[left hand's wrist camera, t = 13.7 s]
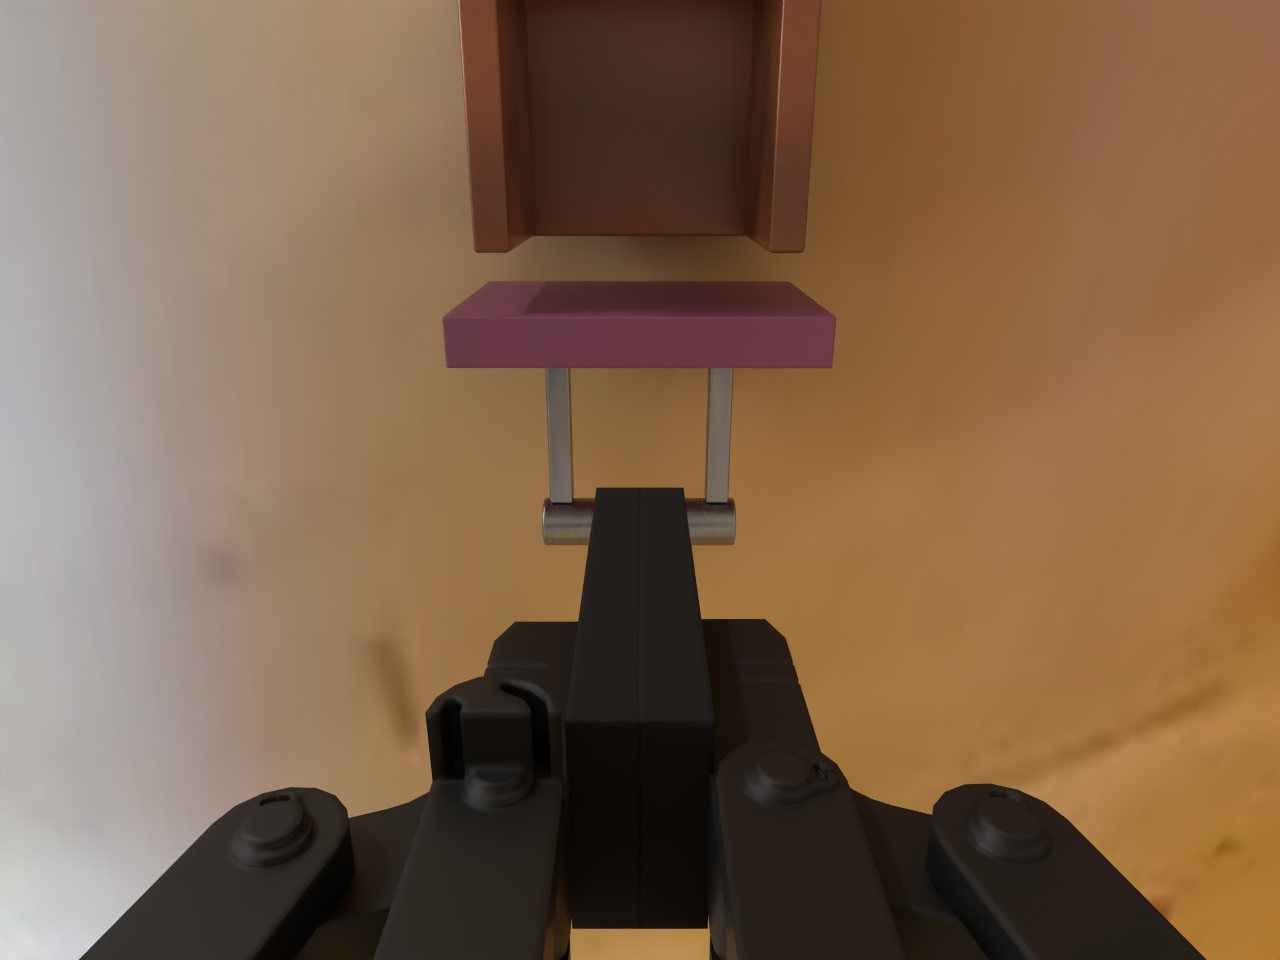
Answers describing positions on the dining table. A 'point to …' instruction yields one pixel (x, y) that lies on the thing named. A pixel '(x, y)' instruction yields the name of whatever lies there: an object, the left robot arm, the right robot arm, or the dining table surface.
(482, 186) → the drawer
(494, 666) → the left robot arm
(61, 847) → the dining table surface
